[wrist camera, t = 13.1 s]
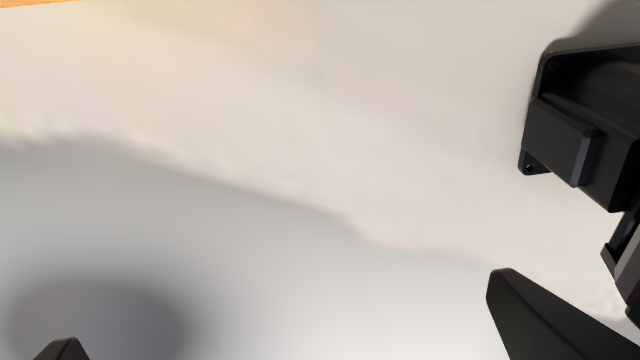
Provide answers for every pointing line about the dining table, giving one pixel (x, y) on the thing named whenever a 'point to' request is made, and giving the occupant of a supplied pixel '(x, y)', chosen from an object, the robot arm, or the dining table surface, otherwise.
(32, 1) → the orange square tray
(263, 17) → the dining table surface
